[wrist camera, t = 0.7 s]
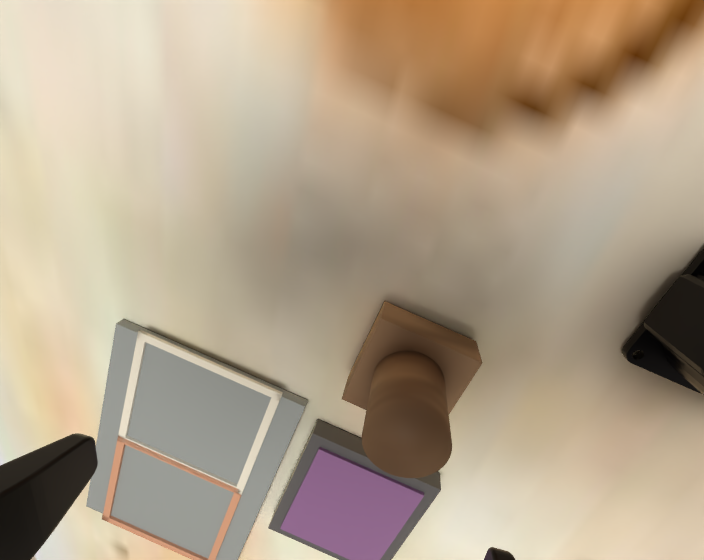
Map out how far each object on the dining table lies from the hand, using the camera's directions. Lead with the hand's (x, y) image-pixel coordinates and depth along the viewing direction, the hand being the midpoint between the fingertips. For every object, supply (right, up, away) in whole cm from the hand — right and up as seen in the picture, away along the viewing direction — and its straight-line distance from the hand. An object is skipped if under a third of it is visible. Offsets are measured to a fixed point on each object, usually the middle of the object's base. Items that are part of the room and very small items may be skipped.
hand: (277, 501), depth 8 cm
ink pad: (+2, -9, +16) cm, 19 cm away
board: (-10, -7, +17) cm, 21 cm away
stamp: (+5, +1, +12) cm, 13 cm away
